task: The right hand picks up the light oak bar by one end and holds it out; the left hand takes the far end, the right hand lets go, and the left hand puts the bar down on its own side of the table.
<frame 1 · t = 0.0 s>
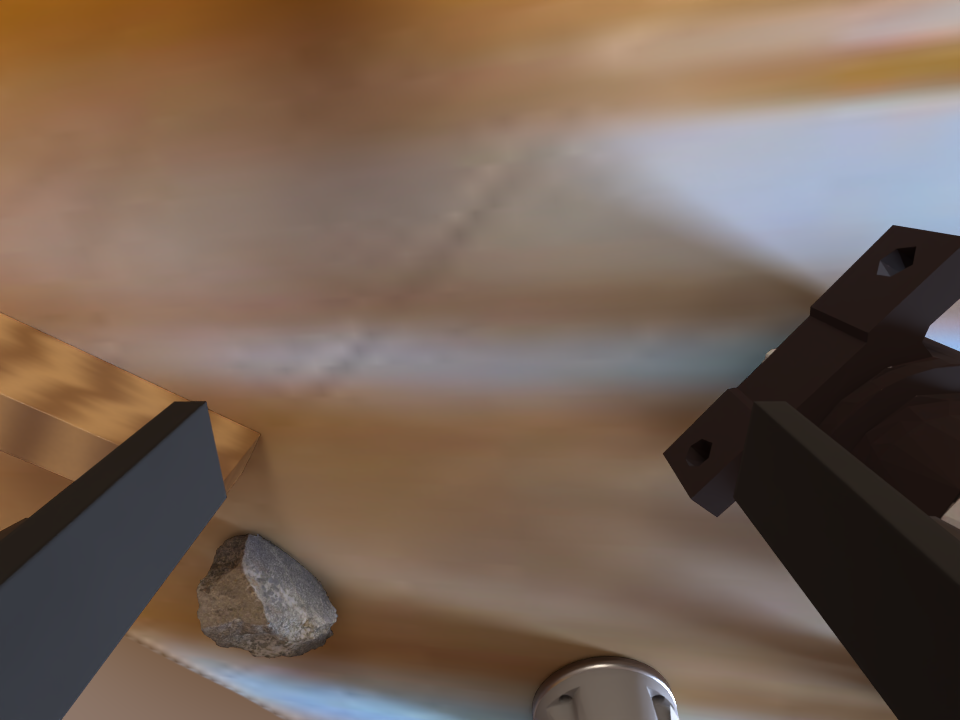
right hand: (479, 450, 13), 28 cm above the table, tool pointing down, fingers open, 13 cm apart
bar: (114, 391, 43), on the table
rock: (278, 584, 51), on the table
mechanical component: (863, 431, 44), on the table
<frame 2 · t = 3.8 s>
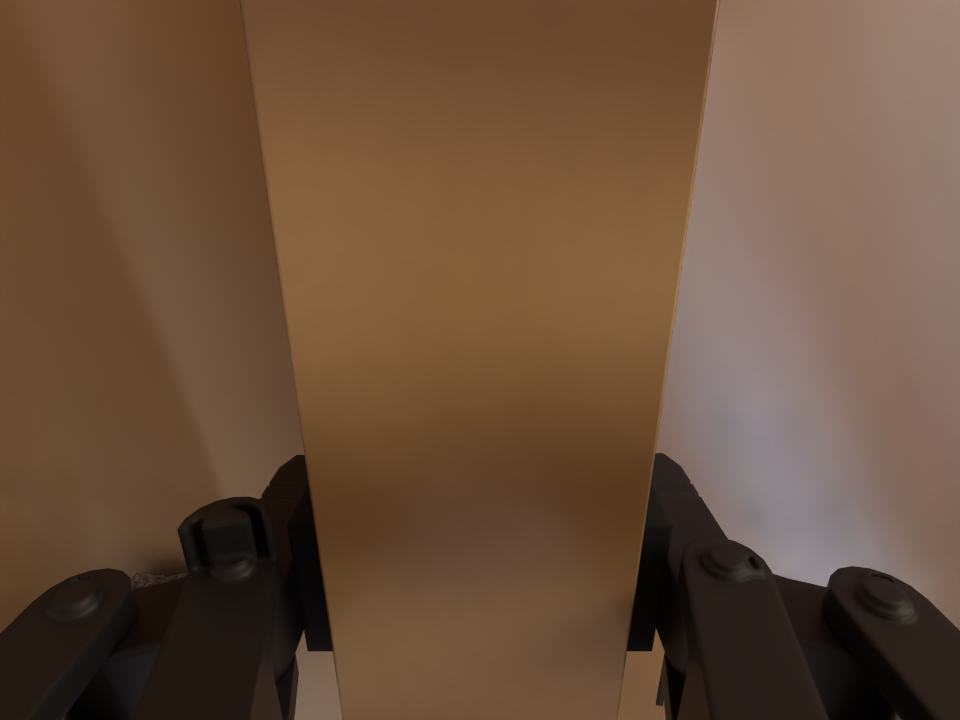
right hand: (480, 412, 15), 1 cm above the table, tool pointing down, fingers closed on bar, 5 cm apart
bar: (479, 123, 12), on the table, touching right hand
rock: (143, 692, 20), on the table
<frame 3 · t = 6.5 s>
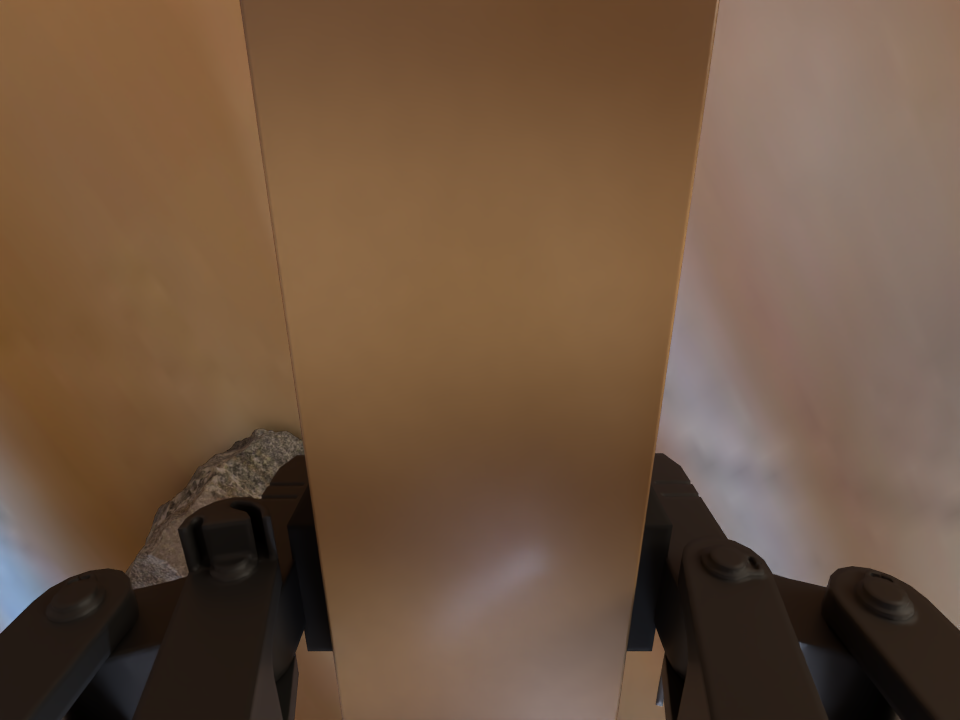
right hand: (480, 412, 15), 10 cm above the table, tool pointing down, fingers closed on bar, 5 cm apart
bar: (479, 122, 12), point 9 cm above the table, touching right hand
rock: (247, 528, 28), on the table
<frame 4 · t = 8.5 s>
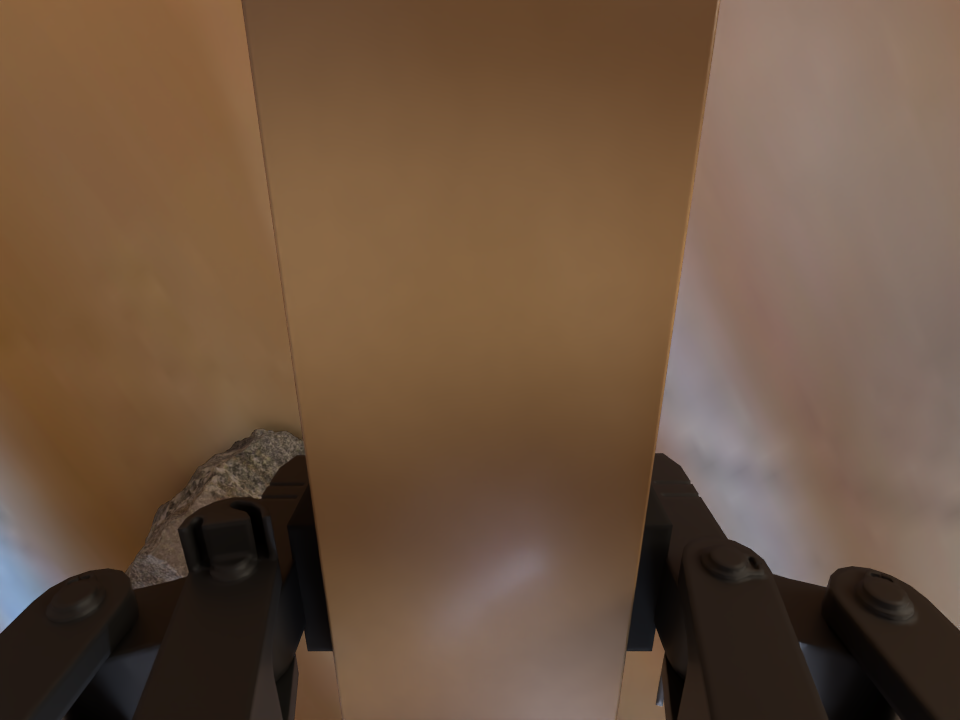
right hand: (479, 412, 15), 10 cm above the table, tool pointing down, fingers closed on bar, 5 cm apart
bar: (480, 122, 12), point 9 cm above the table, touching right hand, left hand
rock: (247, 528, 28), on the table
when the right hand's fingers open (10 cm above the table, at t = 9.3 s): bar stays where it is, held by the left hand.
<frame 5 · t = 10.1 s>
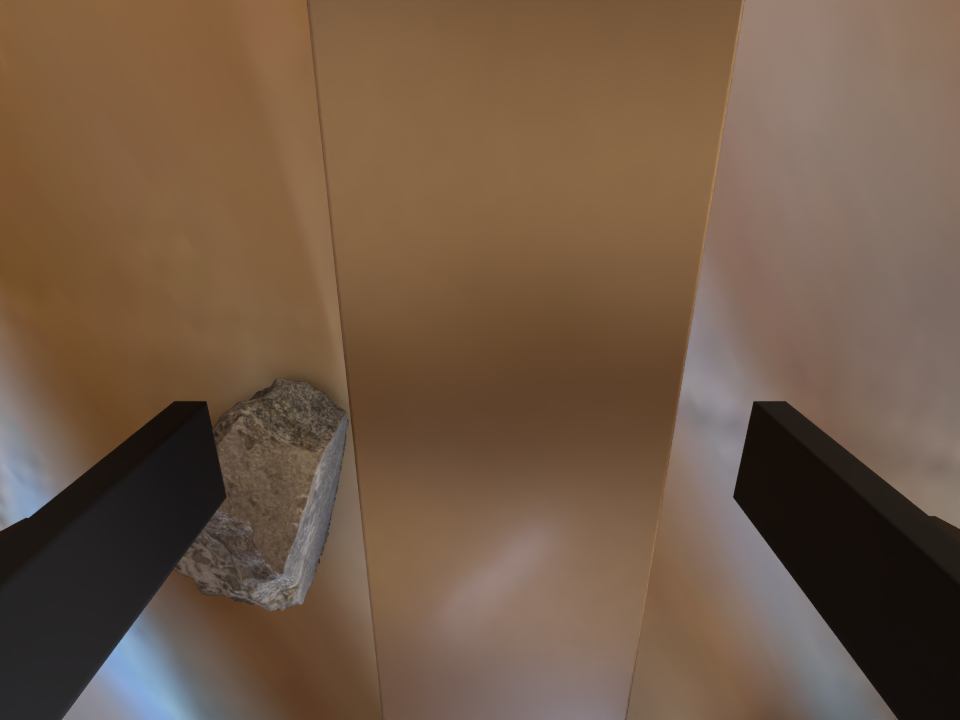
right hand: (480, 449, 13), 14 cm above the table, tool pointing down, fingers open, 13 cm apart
bar: (505, 60, 12), point 11 cm above the table, touching left hand
rock: (266, 476, 30), on the table
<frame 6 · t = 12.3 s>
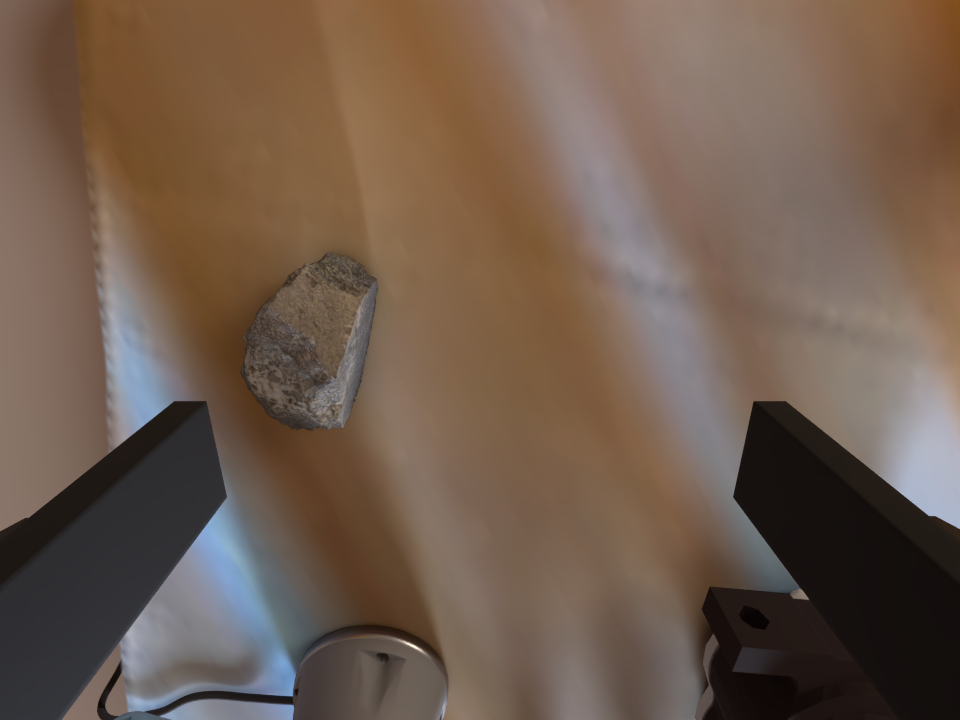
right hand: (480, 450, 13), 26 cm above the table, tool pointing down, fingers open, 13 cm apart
rock: (314, 336, 40), on the table
mechanical component: (756, 678, 53), on the table
when the left hand's fingers open (4 cm above the table, at t = 13.8 s): bar stays where it is, on the table.
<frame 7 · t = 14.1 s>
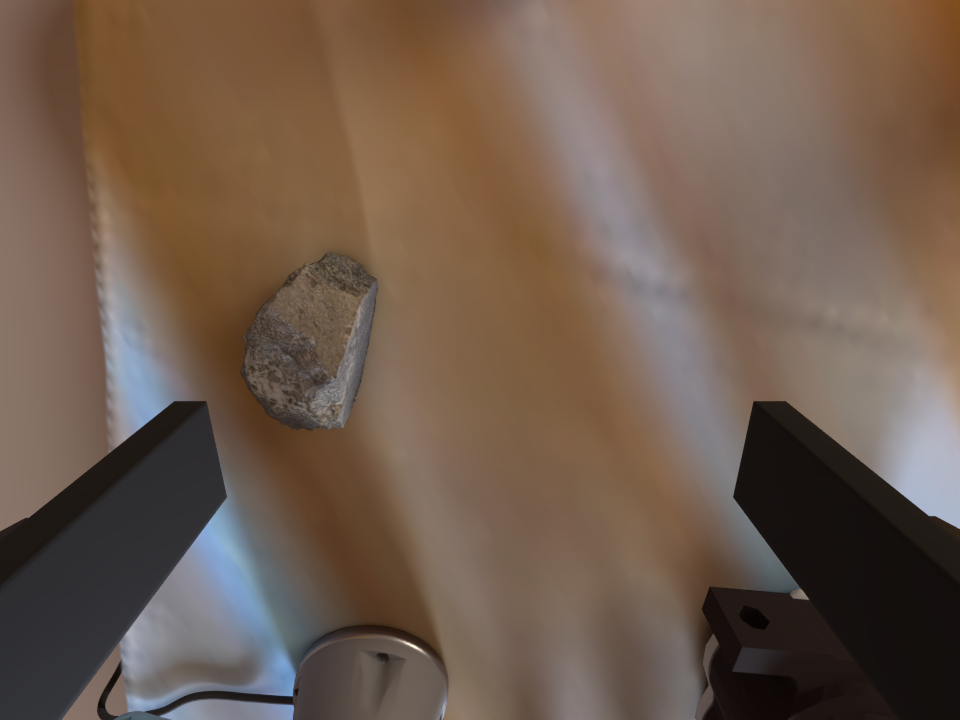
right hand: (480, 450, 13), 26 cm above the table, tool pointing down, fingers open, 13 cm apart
rock: (314, 336, 40), on the table
mechanical component: (756, 678, 53), on the table
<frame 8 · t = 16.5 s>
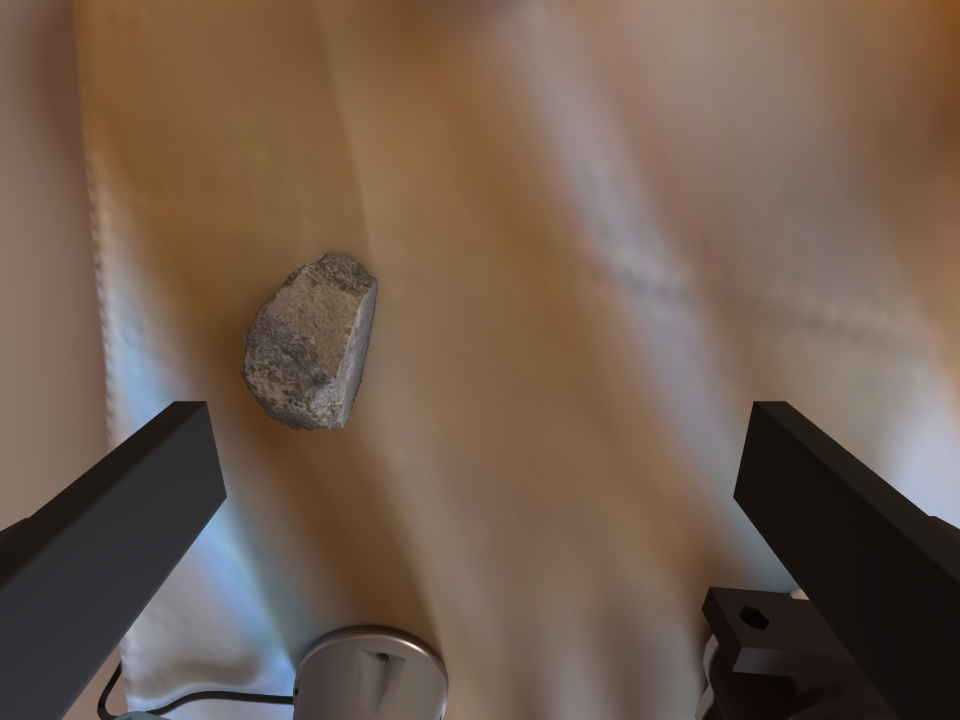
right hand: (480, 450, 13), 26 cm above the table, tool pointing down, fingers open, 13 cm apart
rock: (314, 336, 40), on the table
mechanical component: (756, 678, 53), on the table
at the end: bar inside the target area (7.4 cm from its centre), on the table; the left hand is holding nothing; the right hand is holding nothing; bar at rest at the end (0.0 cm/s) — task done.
